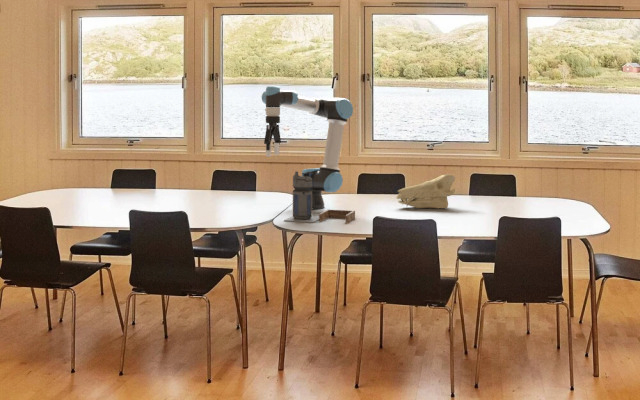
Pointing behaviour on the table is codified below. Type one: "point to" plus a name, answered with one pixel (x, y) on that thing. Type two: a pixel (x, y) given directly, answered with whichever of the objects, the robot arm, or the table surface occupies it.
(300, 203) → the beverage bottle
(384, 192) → the table surface
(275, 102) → the robot arm
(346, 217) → the walnut dock
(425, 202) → the animal skull
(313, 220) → the grey rubber mat
